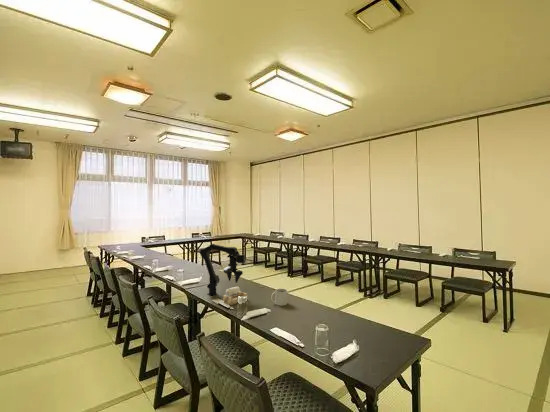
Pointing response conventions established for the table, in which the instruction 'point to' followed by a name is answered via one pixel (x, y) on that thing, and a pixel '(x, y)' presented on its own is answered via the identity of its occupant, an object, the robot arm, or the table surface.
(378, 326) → the table surface
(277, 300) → the mug
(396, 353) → the table surface
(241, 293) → the holder
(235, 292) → the roll
